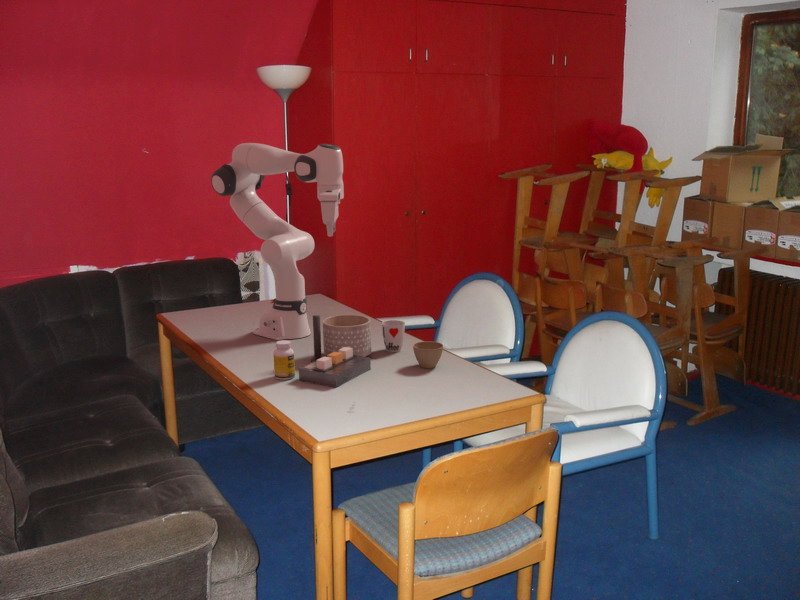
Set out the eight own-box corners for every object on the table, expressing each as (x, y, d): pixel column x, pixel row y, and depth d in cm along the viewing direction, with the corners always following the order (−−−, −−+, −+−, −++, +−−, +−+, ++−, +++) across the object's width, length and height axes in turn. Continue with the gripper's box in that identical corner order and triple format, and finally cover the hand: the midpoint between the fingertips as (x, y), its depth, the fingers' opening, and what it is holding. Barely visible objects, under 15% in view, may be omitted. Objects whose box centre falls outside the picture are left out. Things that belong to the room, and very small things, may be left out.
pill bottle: (286, 381, 236) (284, 346, 233) (270, 378, 239) (268, 343, 237) (299, 376, 241) (297, 341, 239) (283, 372, 245) (282, 338, 242)
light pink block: (316, 368, 235) (316, 360, 235) (324, 365, 239) (323, 356, 238) (324, 370, 234) (324, 361, 233) (331, 366, 237) (331, 357, 236)
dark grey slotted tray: (299, 380, 237) (298, 367, 236) (335, 363, 254) (334, 350, 253) (336, 387, 230) (335, 374, 229) (370, 369, 247) (370, 356, 246)
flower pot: (433, 372, 243) (433, 351, 242) (407, 367, 249) (407, 346, 247) (448, 364, 252) (448, 343, 250) (423, 359, 257) (422, 339, 255)
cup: (378, 351, 266) (377, 324, 264) (389, 345, 273) (388, 319, 271) (398, 354, 262) (398, 327, 260) (409, 348, 269) (408, 321, 267)
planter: (380, 356, 261) (379, 321, 258) (340, 366, 251) (339, 329, 248) (354, 346, 273) (353, 312, 270) (314, 354, 264) (313, 319, 261)
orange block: (327, 363, 240) (327, 354, 240) (334, 359, 244) (334, 351, 243) (335, 364, 239) (335, 356, 238) (342, 361, 242) (342, 352, 242)
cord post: (307, 362, 255) (305, 316, 251) (316, 358, 259) (314, 313, 255) (319, 364, 252) (318, 318, 249) (328, 360, 257) (326, 315, 253)
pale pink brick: (338, 358, 245) (338, 350, 245) (345, 355, 249) (345, 346, 248) (346, 359, 244) (345, 351, 243) (352, 356, 247) (352, 348, 247)
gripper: (324, 190, 264) (324, 230, 267) (318, 196, 244) (319, 238, 247) (342, 190, 264) (342, 230, 267) (337, 196, 244) (338, 238, 247)
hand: (331, 234), depth 257 cm, fingers open, 8 cm apart
